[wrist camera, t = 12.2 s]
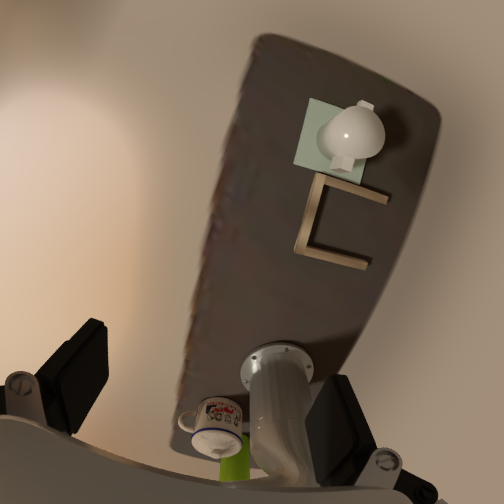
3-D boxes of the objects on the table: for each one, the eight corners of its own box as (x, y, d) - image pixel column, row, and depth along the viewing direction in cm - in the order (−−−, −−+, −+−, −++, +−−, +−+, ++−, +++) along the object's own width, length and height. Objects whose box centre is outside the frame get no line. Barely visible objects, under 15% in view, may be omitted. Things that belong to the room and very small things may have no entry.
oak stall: (361, 267, 41) (365, 270, 40) (293, 250, 40) (295, 253, 39) (383, 195, 38) (388, 196, 37) (315, 172, 37) (317, 172, 36)
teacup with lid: (249, 402, 48) (250, 449, 37) (235, 428, 50) (233, 471, 39) (188, 385, 47) (176, 431, 36) (179, 413, 49) (168, 456, 38)
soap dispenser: (234, 451, 53) (231, 522, 34) (217, 436, 51) (210, 512, 32) (256, 444, 52) (258, 518, 33) (240, 430, 51) (238, 509, 31)
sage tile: (358, 184, 38) (359, 184, 38) (293, 164, 37) (293, 163, 37) (373, 121, 35) (374, 121, 35) (309, 98, 35) (310, 97, 34)
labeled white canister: (361, 125, 35) (390, 112, 26) (347, 178, 37) (374, 179, 28) (323, 110, 35) (344, 91, 26) (308, 164, 37) (326, 160, 28)
